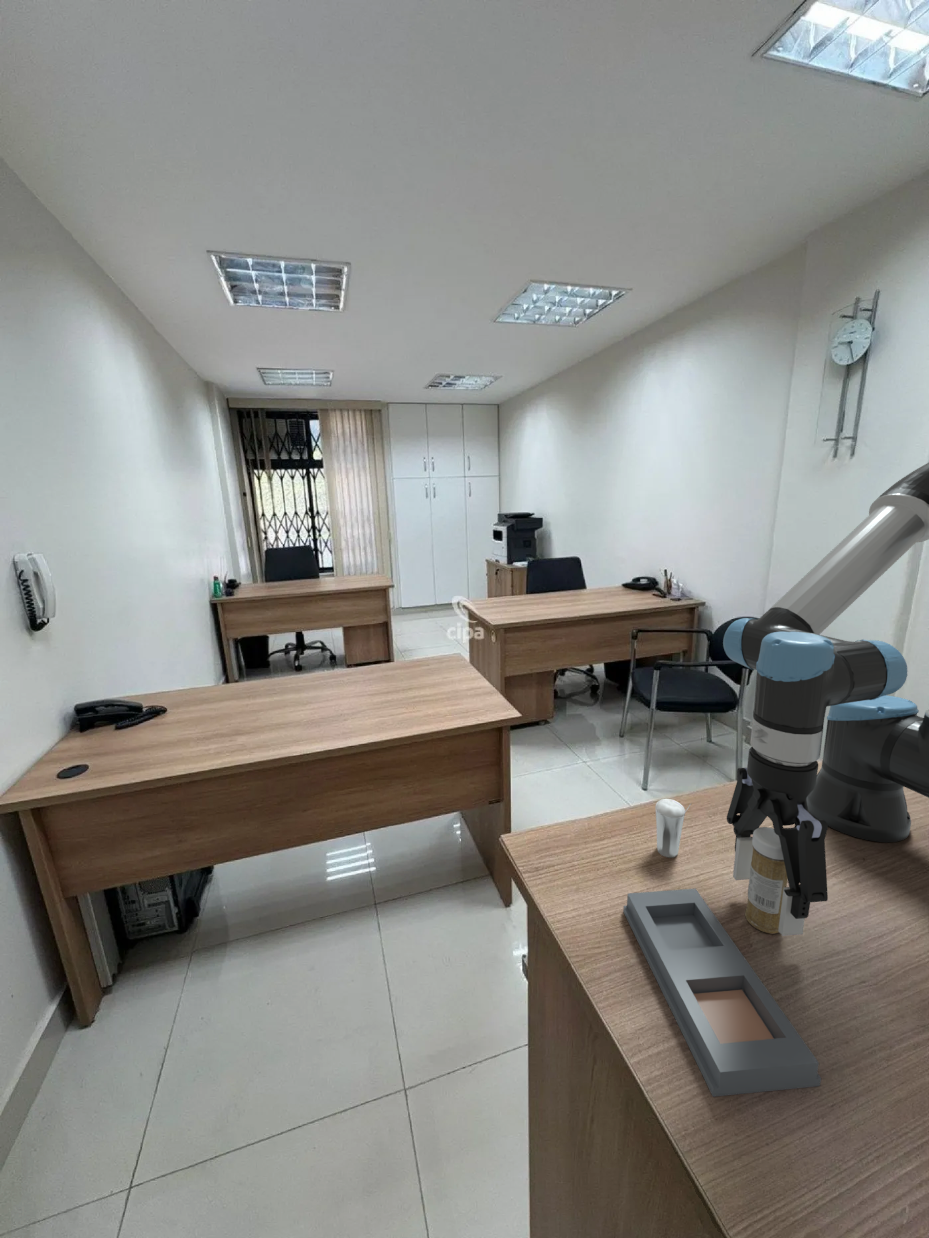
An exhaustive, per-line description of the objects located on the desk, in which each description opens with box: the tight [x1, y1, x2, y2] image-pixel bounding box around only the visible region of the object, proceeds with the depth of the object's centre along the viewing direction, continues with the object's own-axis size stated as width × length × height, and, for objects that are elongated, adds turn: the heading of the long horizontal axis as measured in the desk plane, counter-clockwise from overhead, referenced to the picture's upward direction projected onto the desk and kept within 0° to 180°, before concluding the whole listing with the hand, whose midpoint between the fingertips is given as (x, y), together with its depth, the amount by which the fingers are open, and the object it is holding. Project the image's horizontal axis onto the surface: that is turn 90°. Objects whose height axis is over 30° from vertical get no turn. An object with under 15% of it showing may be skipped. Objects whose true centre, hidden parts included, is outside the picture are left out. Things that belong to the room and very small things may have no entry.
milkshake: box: [655, 798, 692, 859], centre depth 82 cm, size 5×5×10 cm
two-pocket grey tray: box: [622, 888, 822, 1098], centre depth 59 cm, size 11×23×3 cm, turn 4°
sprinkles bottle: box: [744, 826, 788, 935], centre depth 67 cm, size 5×5×14 cm
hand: (765, 903), depth 68 cm, fingers open, 9 cm apart
